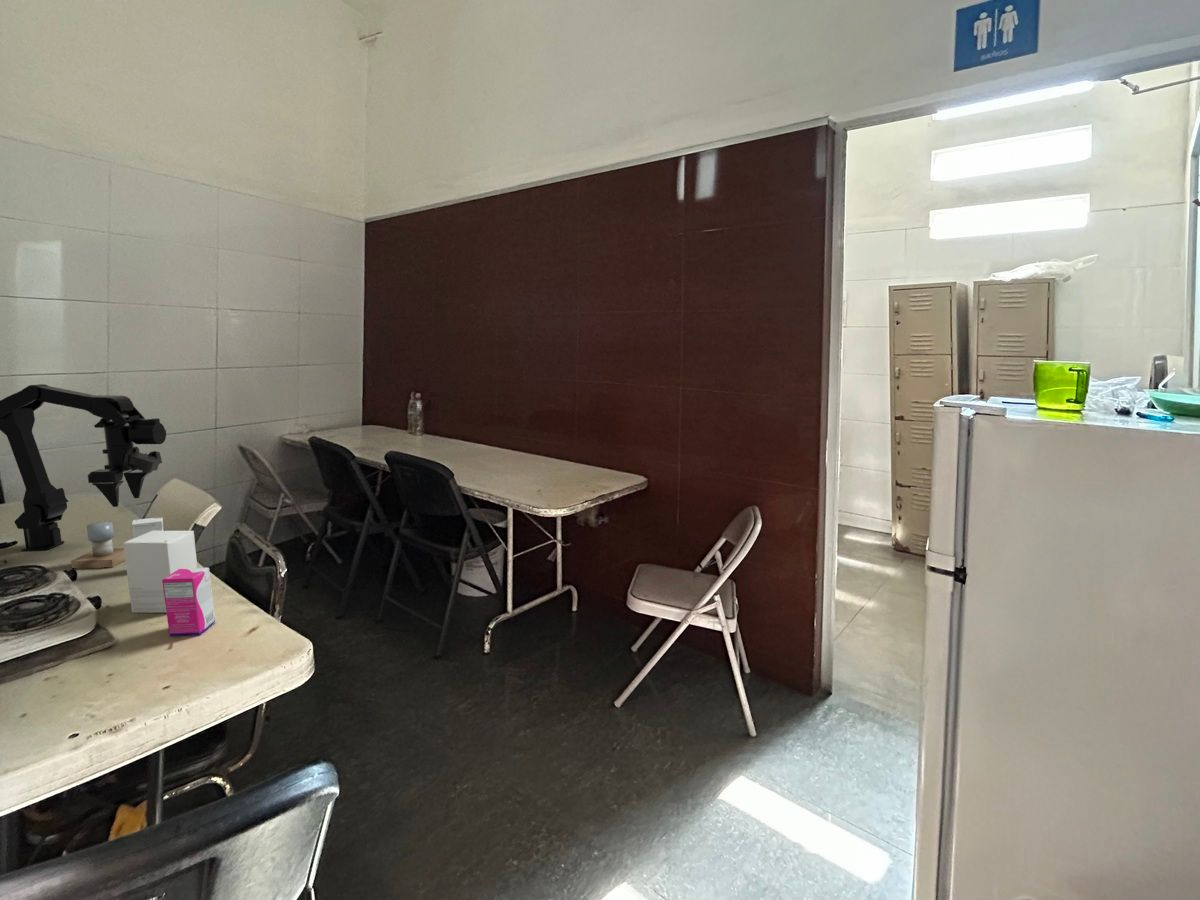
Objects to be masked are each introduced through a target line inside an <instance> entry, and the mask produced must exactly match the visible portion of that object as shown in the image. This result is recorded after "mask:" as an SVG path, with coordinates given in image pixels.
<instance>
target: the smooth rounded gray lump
mask: <svg viewBox="0 0 1200 900" xmlns="http://www.w3.org/2000/svg"><path fill="white" fill-rule="evenodd" d="M86 530H87V540H88V541H89V542H91V541H103V540H108V539H111V538H112V539H113V538H115V532H114V524H113V522H112V521H100V522H93V523H89V524H88V525H86Z"/></svg>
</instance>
